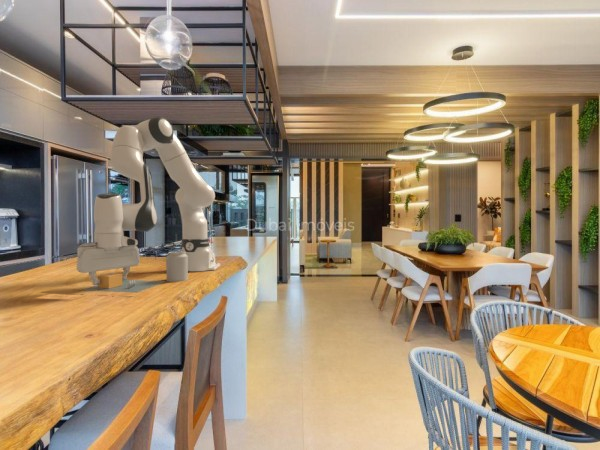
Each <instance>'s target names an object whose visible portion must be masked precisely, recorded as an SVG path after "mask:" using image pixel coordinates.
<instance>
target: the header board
mask: <svg viewBox="0 0 600 450" xmlns="http://www.w3.org/2000/svg"><path fill="white" fill-rule="evenodd" d="M166 282H167V283H168V281H167V280H165V281H164V280H143V279H142V280H138V279H127V280H125V281H122V285H121V286H117V287H113V288H109V289H108V288H98V285H93V286H91V287H87V288H83V289H82V291H89V292H90V291H91V292H92V291H93V292H114V293H115V292H116V293H117V292H118V293H140V292H142V291H145V290H148V289H151V288H153V287H156V286H159V285H161V284H164V283H166ZM80 296H83V294H80ZM98 296H102V297H103V296H106V297H107V295H103V294H102V295H98ZM123 297H128V298H131V297H132V296H127V295H125V296H123Z"/></svg>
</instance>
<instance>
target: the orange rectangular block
mask: <svg viewBox="0 0 600 450" xmlns="http://www.w3.org/2000/svg"><path fill="white" fill-rule="evenodd" d="M122 274H123V273H119V272H117V273H116V272H110V273H106V274H100V275H97V279H100V282H99V283H100V284H99V285H98V288H108V289H109V288H113V287H117V286H121V285H122Z"/></svg>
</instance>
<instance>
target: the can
mask: <svg viewBox="0 0 600 450" xmlns="http://www.w3.org/2000/svg"><path fill="white" fill-rule="evenodd" d="M167 253H168V254H167V255H166V259H165V260H166V261H165V262H166V269H165V270H166V271H165V272H166V281H167V282H173V283H174V282H175V283H177V282H185V281H188V280H189V276H188V275H189V273H188V272H189V271H188V256H187V255H186V254H185V253H186V252H185V251H180V250H177V251H176V250H175V251H168V252H167Z"/></svg>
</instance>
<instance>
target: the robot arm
mask: <svg viewBox="0 0 600 450" xmlns="http://www.w3.org/2000/svg"><path fill="white" fill-rule="evenodd" d="M112 141H113V142H112V144H111V150H110V164H111V167H112V168H113V170H114V171H115V172H117V173H118V174H119V175H120V176H121V175H122V176H123V177H125V178H127V179H131V180H134V181H136V182H138V183H139V189H140V191H139V192H140V202H138V203H123V202H122V201H123V200H122V195H121V194H119V193H115V192H107V193H100V194H98V195H96V197H95V200H94V207H93V208H94V209H93V221H94V225H95V226H94V227H95V228H94V231H93V232H94V233H93V234H94V235H93V238H94V240H93V241H94V242H89V243H82V244H81V245H79V246H78V247H77V249H76V255H77V258H76V259H77V260H76V271H78V272H79V273H81V274H87V273H88V276H89V278H90V279H91V280H92V281H91V282H92V285H93V286H97V285H99V284H100V283H99V282H100V279H98V277H96V275H97V272H101V271H109V270H115V269H118V270H119V269H122V271H123V272H122V273H121V274H122V281H125V280H128V274H129V272H130V270H131V267H137V266H139V264H140V263H141V262H140V261H141V260H140V259H141V258H140V257H141V256H140V250H139V247H138V244H139V243H138V240H137V239H136V238H133V237H128V236H125V231H127V232H128V231H131V232H132V231H137V232H147V233H148V232H149V231H151V230H152V229H153V228H155V226H156V225H157V221H158V216H157V210H156V206H155V195H154V186H153V178H152V172H151V169H150V167H149V165H147V164H146V163H145V162H144V158H143V157H144V153H145V152H147V151H148V152H149V151H151V150H155V151H157V154H158V156H159V158H160V160H161V162H162V164H163V167H164V169H165V170H166V171H167V174H168V175H169V177H170V179H171V180H172V181H173V182H175V183H176V184H177V186H178V187H179V188H178V189H177V190H176V192H175V201H176V203H177V204H178V208H179V213H180V217H181V222H182V223H181V225H182V226H181V228H182V239H181V243H180V244H181V247H182V248H181V249H180V250H179V251H185V252H186V253H185V254H186V255H187V256H188V272H206V271H215V270H217V269H218V268H220V266H221V263H220V262H219V263H216V253H214V251H213V250H212V248H211V247H210V243H212V239H211V238H208V221H207V218H206V216H205V214H204V210H203V209H204V208H207V207H209V206H211V205H212V204H213V203H214V202H215V198H216V193H215V190H214V189H213V187H212V186H210V185H209V184H208V183H207V182H206V181H205V180H204V179H203V177H202V175H200V173H199V172H198V171H197V170H196V168H195V166H194V165H193V163H192V161H191V159H190V157H189V156H188V153H187V151H186V150H185V147H184V145H183V144H182V142H181V141H180V139H179V138H178V137H177V135H176V134H175V133H174V129H173V125H172V124H171V123H170V121H169V120H168V119H166V118H164V117H163V116H153V117H151V118H150V119H146V120H144V121H141V122H139V123H138V124H136V125H135V126H133V125H123V126H120V127H119V128H118V129H117V130H116V132H115V135H114V137H113V140H112Z"/></svg>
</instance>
